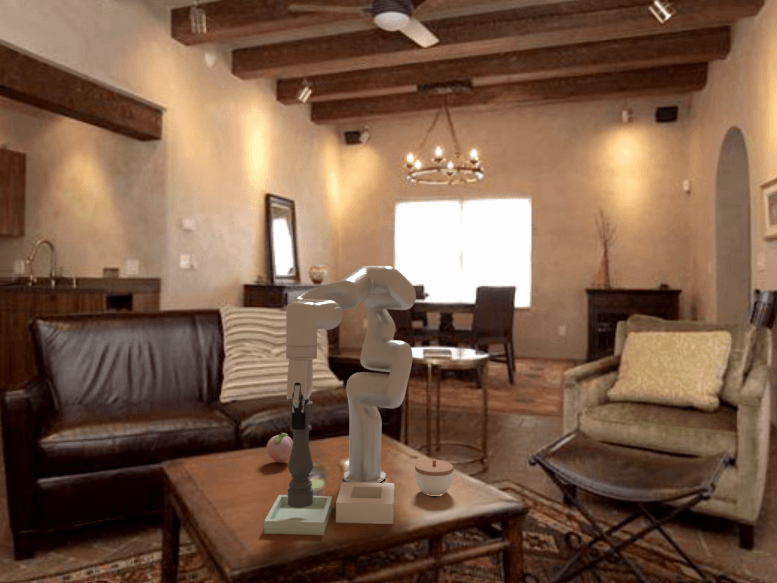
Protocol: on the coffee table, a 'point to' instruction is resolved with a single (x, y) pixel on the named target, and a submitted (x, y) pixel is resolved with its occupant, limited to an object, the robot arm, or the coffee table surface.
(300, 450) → the candle holder
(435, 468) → the lidded jar
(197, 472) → the coffee table surface
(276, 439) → the decorative fruit
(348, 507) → the socket block
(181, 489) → the coffee table surface
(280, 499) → the parts tray
